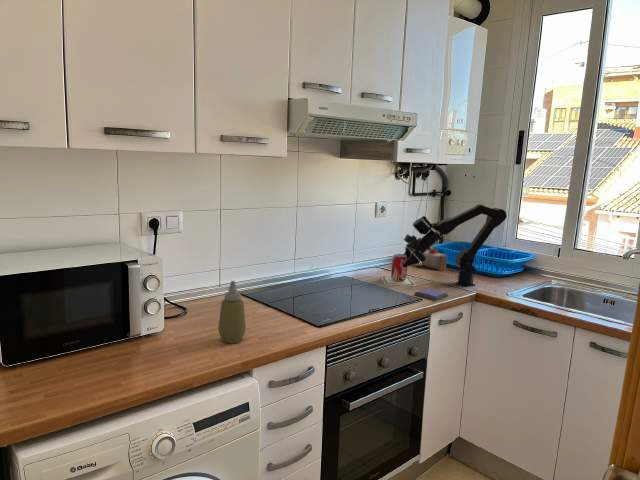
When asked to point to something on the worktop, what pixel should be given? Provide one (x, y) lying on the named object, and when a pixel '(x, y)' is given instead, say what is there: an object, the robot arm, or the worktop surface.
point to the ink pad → (431, 294)
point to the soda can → (399, 268)
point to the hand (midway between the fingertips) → (401, 264)
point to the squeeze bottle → (232, 316)
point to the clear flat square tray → (390, 282)
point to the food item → (434, 260)
